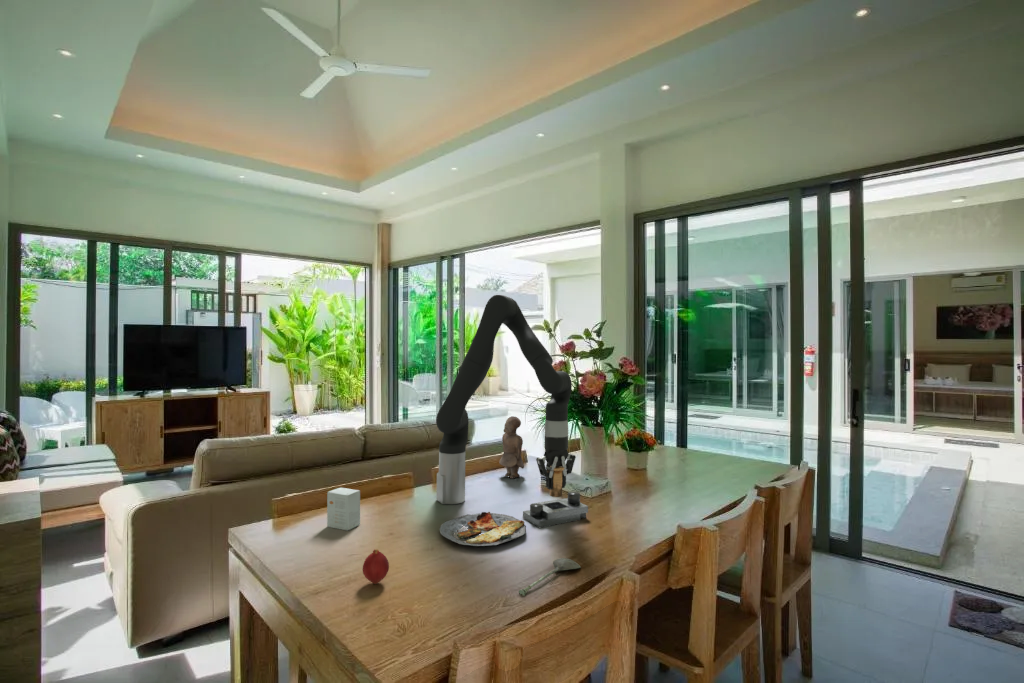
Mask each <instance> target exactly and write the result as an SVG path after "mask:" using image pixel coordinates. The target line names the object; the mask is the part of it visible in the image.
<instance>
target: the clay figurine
mask: <svg viewBox="0 0 1024 683" xmlns="http://www.w3.org/2000/svg"><path fill="white" fill-rule="evenodd" d="M521 425H522V422H521V420H520V418H519V417H517V416H509V417H507V419H506V420H505V423H504V427H503V428H504V429H503V434H502V450H503V454H502V456H501V458H500V459H499V461H498V463H499V465H501V466H502V467H505V469H506V473H505V475H504V476H509V477H510V478H509V479H516V478H519V477H520V476H521V475H520V474H519V473H518V472H519V469H520V468H521V469H524V468H525V464H524V461H523V458H522V448H523V444H524V443H523V442H524V440H523V438H522V436H520V434H519V435H518V433H517V430H518V429H519V428H520V427H521ZM515 477H516V478H515Z"/></svg>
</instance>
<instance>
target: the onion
mask: <svg viewBox="0 0 1024 683" xmlns="http://www.w3.org/2000/svg"><path fill="white" fill-rule="evenodd" d="M389 569H390V562H389V561H388V558H387V556H386V555H385V554H384V553H382V552H381V551H380V550H379V549H377V548H374V549H373V550H372V553H370V554H369V555H368V556H366V558H365V559H364V562H363V565H362V574H363V576H364V578H365V579H366V580H368V581H369V582H371V583H372V584H374V585H377V584H379V583H380V582H381V581H382V580H384V578H385V577H386V576H387V574H388V573H389Z"/></svg>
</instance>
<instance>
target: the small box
mask: <svg viewBox="0 0 1024 683" xmlns="http://www.w3.org/2000/svg"><path fill="white" fill-rule="evenodd" d="M326 497H327V498H326V499H327V501H326V502H327V503H326V506H327V507H326V508H327V510H326V513H327V514H326V516H327V517H326V519H327V520H326V526H327V527H328V528H333V529H338V530H343V531H350V530H352V529H353V528H356V527H358V526H360V525H361V490H359V489H354V488H353V489H351V488H348V487H347V488H346V487H341V486H340V487H338V488H334V489H332V490H329V491H327V496H326Z"/></svg>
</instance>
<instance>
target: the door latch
mask: <svg viewBox="0 0 1024 683" xmlns="http://www.w3.org/2000/svg"><path fill="white" fill-rule="evenodd" d="M587 513H589V506H588V505H586V504H584V503H582V502H581V493H580V492H579V491H568V492H567V498H559V499H558V498H557V499H553V500H547V501H546V500H545V501H540V502H534V503H530V505H529V510H523V511H522V518H523V519H524V518H525V520H526V521H528V522H530V523H531V524H532V523H533V524H532V525H534V526H535V525H536V526H535V527H537V526H538V527H537V528H539V527H541V528H545V527H544V526H546V527H550V526H549V525H552V526H556V525H555V524H557V525H560V524H561V523H562V524H567V523H566V522H568V523H572V522H571V521H573V522H577V521H576V520H579V521H580V520H581V519H580V518H583V519H587ZM562 524H561V525H562Z"/></svg>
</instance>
